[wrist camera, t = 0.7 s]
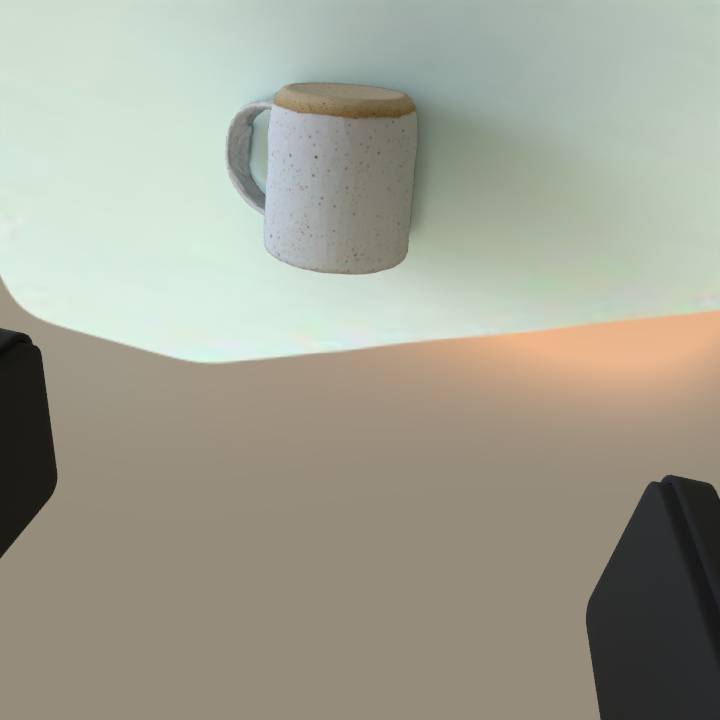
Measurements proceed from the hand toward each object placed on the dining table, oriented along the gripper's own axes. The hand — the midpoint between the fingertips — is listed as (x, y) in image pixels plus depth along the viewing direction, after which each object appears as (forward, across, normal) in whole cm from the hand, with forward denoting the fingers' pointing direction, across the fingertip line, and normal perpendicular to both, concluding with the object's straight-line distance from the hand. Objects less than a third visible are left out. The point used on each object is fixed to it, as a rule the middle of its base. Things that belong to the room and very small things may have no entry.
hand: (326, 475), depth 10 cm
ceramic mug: (+29, +6, +3) cm, 30 cm away
